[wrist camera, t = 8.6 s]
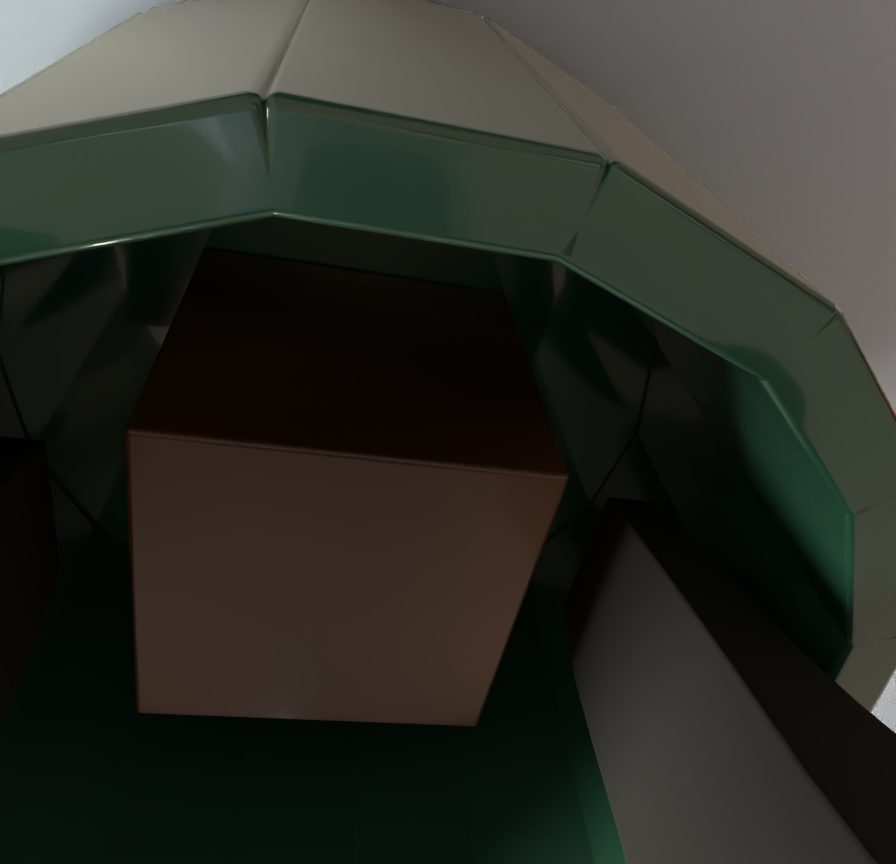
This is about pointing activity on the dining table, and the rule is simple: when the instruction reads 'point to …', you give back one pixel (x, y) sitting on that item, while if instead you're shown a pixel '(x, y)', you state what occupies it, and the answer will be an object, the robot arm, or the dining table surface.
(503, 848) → the pot
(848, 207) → the dining table surface
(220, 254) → the block
